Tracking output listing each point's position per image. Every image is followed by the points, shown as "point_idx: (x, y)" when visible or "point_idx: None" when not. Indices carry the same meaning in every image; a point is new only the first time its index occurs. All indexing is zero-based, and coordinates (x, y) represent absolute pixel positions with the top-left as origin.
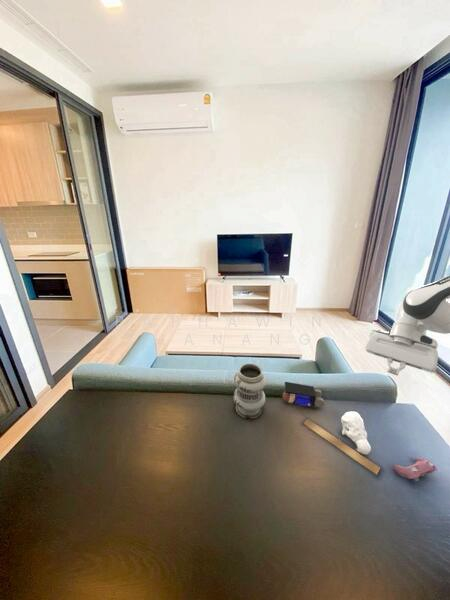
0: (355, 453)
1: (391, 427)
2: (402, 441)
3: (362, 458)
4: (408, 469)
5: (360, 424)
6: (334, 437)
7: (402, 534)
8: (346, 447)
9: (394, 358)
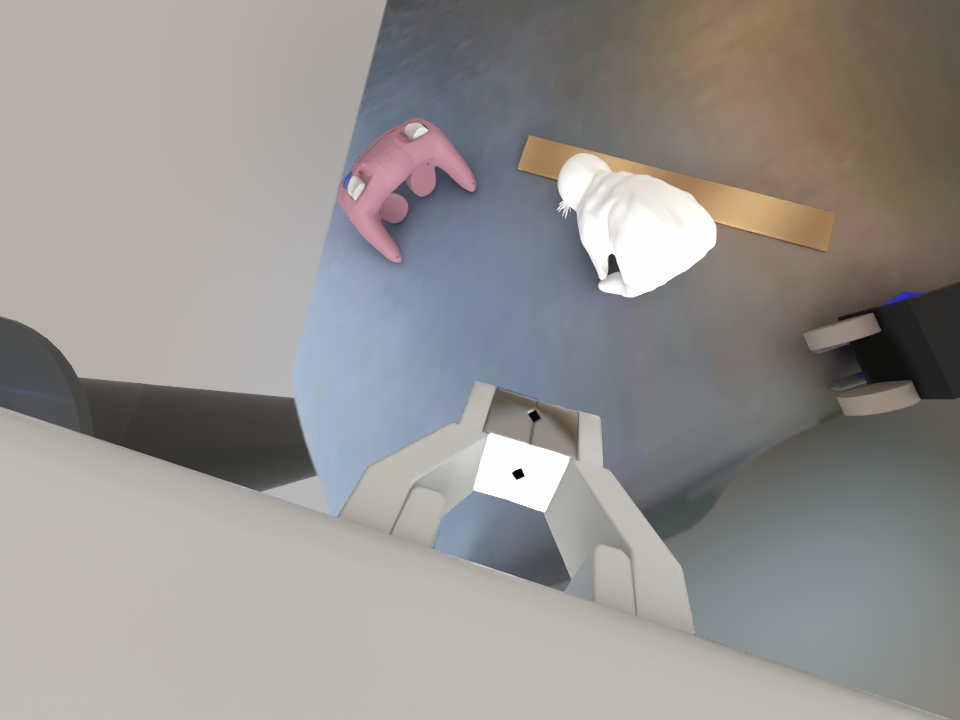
0: None
1: None
2: (432, 341)
3: None
4: (435, 130)
5: (632, 187)
6: None
7: (468, 9)
8: None
9: (567, 597)
